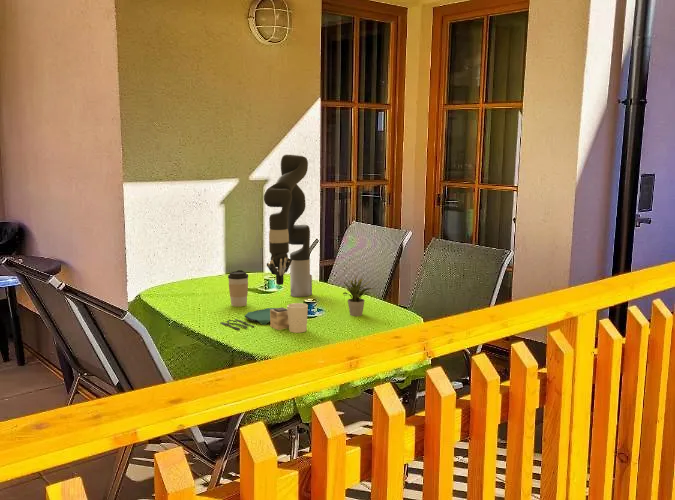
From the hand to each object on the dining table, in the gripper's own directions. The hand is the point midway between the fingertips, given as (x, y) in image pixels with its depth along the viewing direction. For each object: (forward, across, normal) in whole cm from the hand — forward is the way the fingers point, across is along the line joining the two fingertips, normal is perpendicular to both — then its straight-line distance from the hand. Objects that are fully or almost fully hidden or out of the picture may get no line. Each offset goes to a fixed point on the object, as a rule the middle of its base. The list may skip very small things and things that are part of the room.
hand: (279, 284), depth 272 cm
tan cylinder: (+17, 0, +9) cm, 19 cm away
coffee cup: (+18, -17, -39) cm, 46 cm away
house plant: (+18, -31, +14) cm, 38 cm away
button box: (+17, 0, 0) cm, 17 cm away
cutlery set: (+18, -3, -14) cm, 23 cm away
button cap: (+12, 0, 0) cm, 12 cm away
